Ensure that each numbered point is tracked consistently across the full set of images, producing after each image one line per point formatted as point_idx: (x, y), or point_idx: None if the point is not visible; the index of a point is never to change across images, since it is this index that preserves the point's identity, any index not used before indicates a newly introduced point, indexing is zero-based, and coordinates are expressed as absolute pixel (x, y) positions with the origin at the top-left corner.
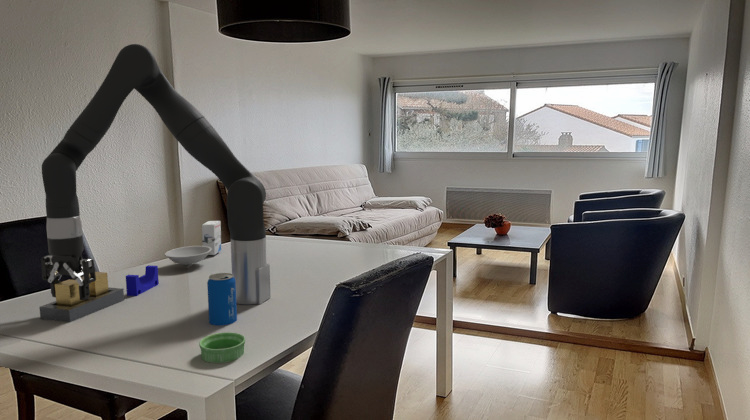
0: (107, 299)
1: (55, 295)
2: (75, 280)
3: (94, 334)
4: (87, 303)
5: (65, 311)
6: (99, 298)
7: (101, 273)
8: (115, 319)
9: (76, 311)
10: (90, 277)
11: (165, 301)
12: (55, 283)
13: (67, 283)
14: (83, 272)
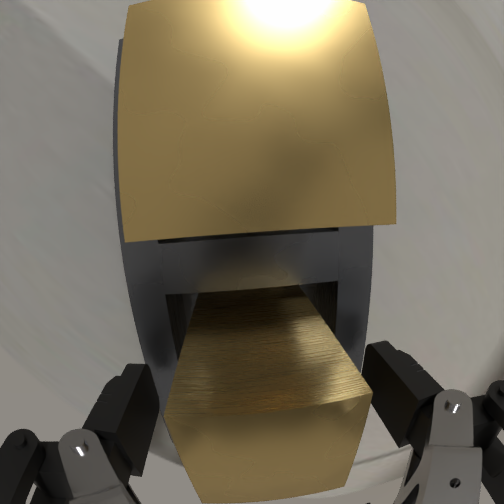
0: None
1: (156, 406)
2: (278, 423)
3: (444, 387)
4: (364, 333)
5: None
6: (372, 240)
7: (332, 36)
8: (449, 283)
9: None
10: (495, 420)
11: (461, 60)
12: (133, 460)
13: (286, 480)
14: (492, 494)
